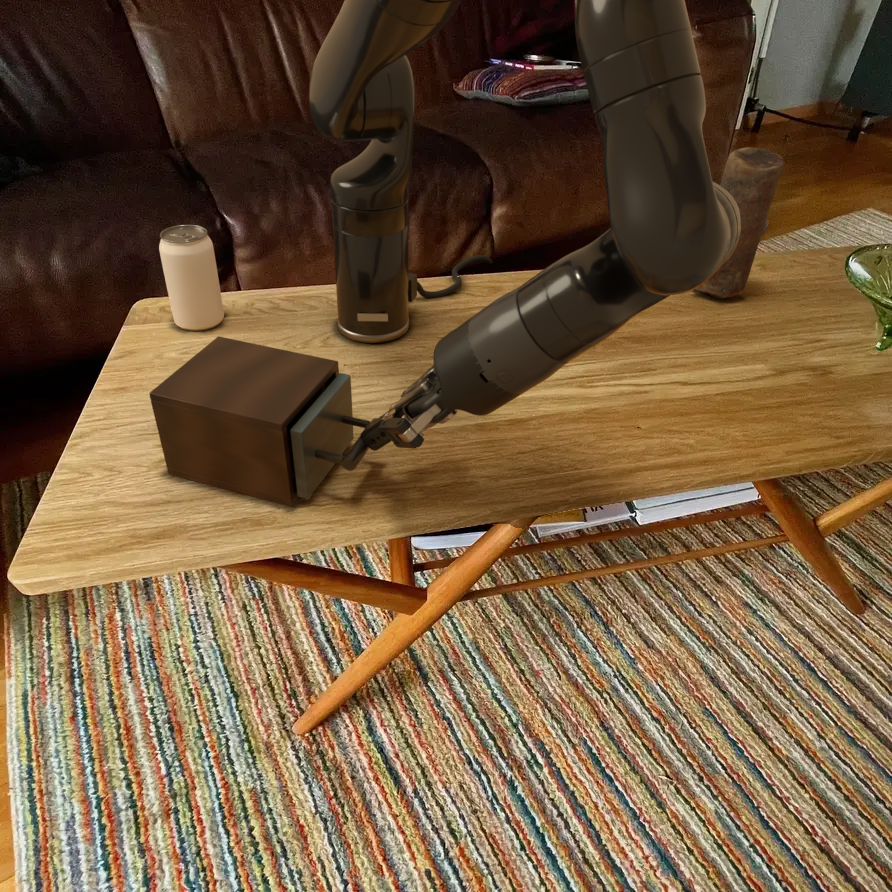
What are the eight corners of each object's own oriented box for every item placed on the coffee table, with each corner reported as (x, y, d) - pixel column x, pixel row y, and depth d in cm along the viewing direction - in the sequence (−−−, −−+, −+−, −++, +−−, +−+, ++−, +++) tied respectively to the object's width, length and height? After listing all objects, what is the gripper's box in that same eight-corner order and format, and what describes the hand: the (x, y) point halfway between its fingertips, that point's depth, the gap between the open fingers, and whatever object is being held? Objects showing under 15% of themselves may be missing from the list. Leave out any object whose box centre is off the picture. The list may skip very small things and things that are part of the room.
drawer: (391, 447, 79) (390, 383, 74) (349, 510, 71) (345, 443, 66) (248, 413, 82) (238, 351, 78) (193, 469, 75) (179, 403, 70)
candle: (752, 292, 113) (793, 154, 101) (731, 308, 109) (772, 166, 97) (704, 277, 117) (738, 142, 105) (682, 292, 113) (716, 153, 100)
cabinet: (343, 438, 81) (338, 360, 75) (291, 506, 72) (281, 424, 66) (230, 412, 84) (218, 335, 78) (168, 474, 75) (148, 393, 69)
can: (204, 304, 104) (190, 219, 97) (234, 319, 101) (221, 232, 94) (164, 321, 100) (145, 233, 93) (194, 337, 97) (176, 247, 90)
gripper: (496, 283, 66) (369, 376, 76) (447, 355, 56) (309, 451, 66) (549, 348, 68) (418, 430, 78) (511, 429, 58) (367, 511, 68)
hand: (368, 439), depth 72 cm, fingers closed
